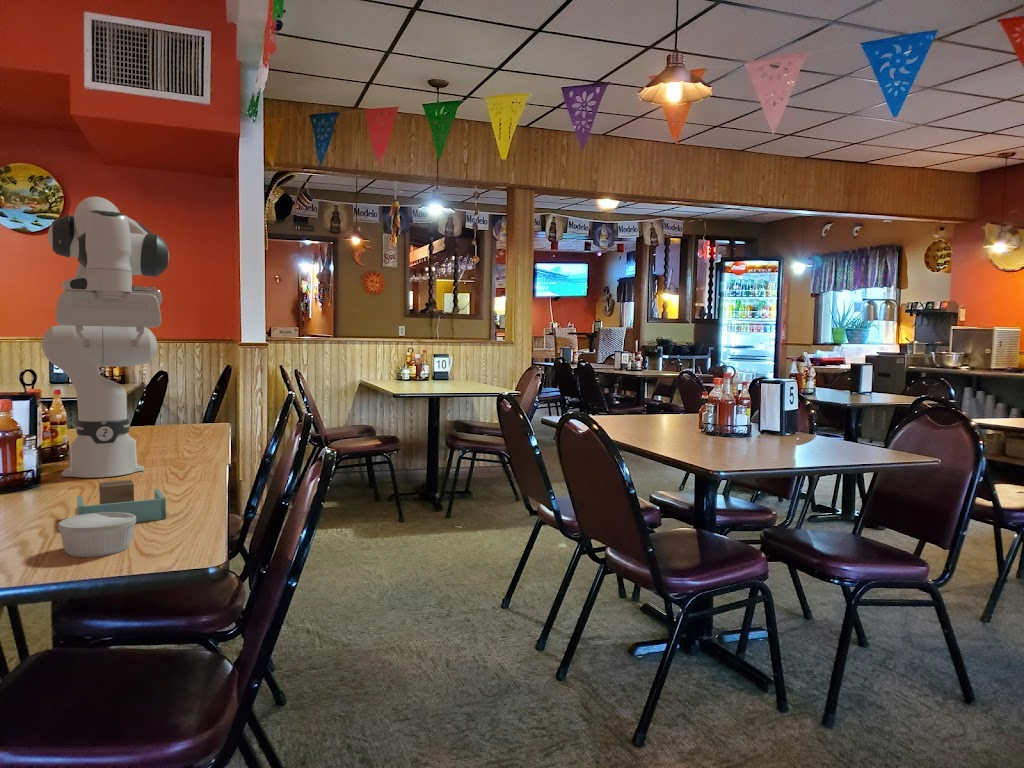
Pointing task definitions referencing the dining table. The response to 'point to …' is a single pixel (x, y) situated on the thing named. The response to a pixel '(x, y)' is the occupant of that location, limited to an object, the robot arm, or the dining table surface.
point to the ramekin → (97, 533)
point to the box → (130, 508)
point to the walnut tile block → (116, 491)
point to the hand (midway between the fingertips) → (110, 347)
